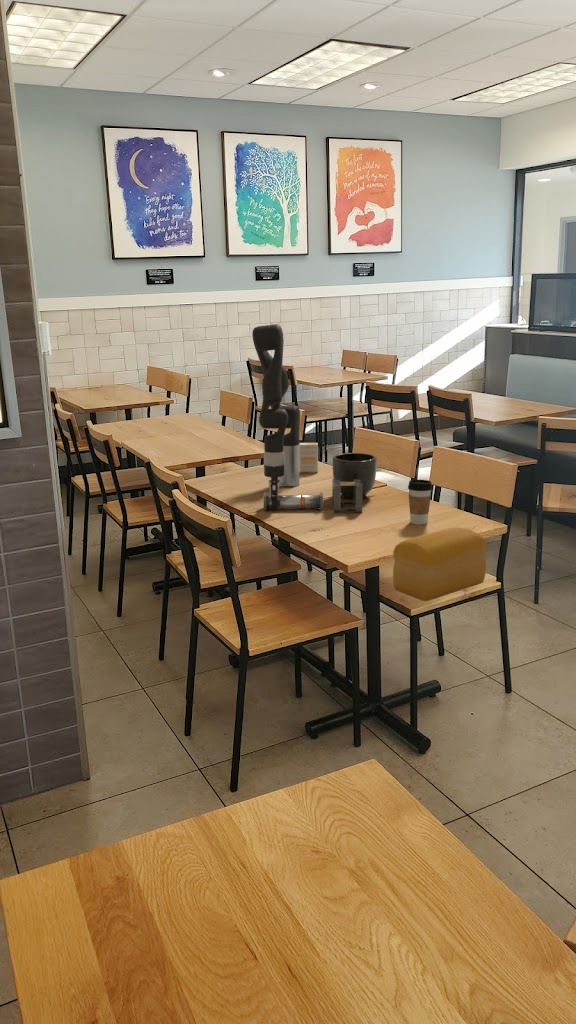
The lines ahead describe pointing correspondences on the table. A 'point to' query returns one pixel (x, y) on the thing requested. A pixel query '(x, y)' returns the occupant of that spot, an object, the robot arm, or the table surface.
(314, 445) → the supplement box
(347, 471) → the planter
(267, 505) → the tube
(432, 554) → the bread
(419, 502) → the coffee cup
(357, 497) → the hollow square frame
